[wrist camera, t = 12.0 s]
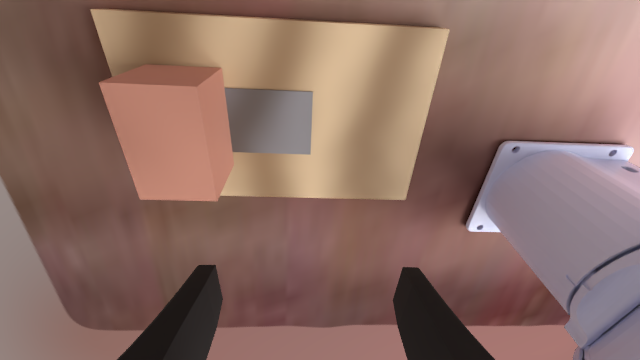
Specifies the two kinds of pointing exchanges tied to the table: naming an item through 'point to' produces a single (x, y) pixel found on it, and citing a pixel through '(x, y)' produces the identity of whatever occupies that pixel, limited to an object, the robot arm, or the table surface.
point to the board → (299, 95)
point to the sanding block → (172, 130)
